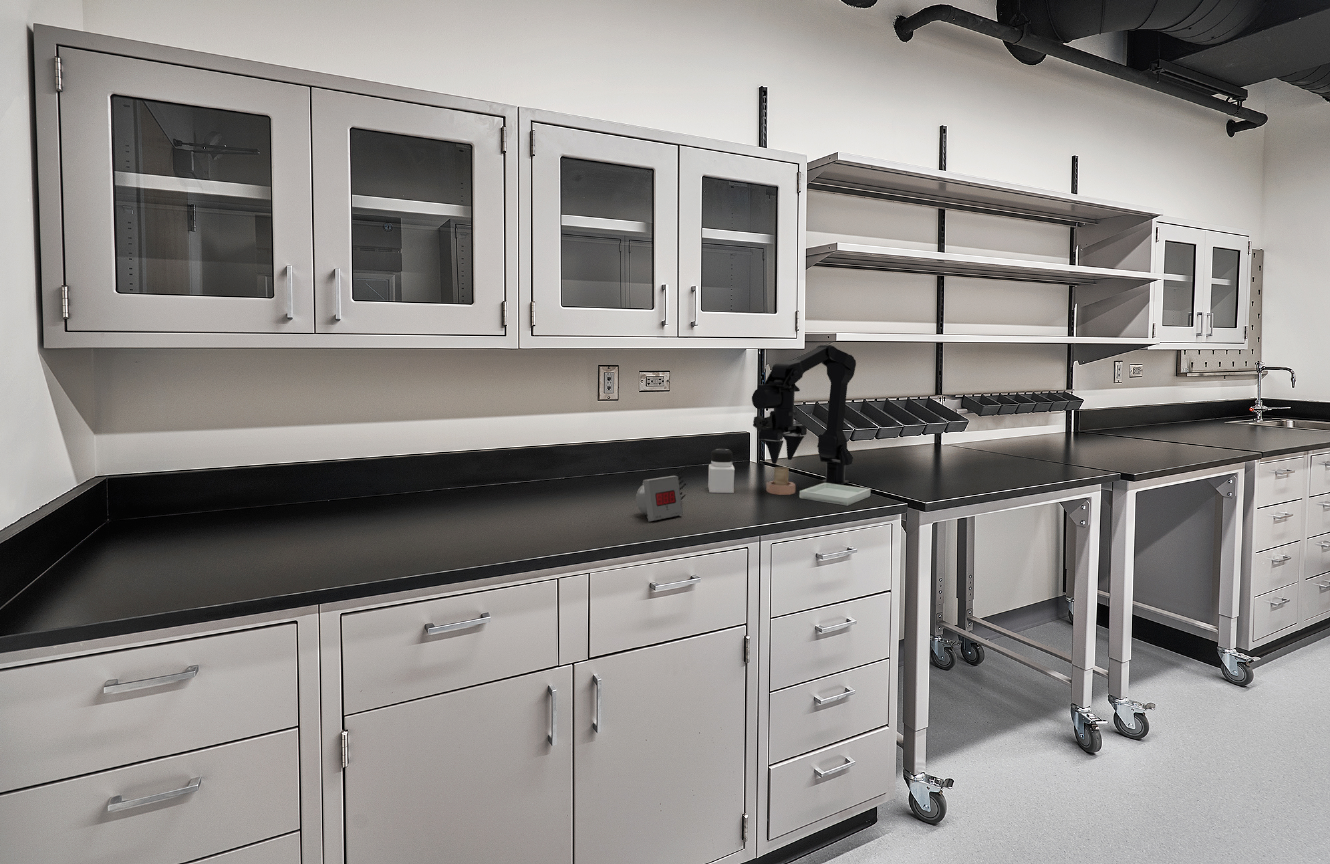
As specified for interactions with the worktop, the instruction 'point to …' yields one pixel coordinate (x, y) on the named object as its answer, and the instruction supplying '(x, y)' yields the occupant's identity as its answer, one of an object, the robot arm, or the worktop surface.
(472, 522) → the worktop surface
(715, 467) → the medicine bottle
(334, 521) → the worktop surface
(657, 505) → the voltmeter
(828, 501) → the tray
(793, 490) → the cup ring
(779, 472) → the dowel
